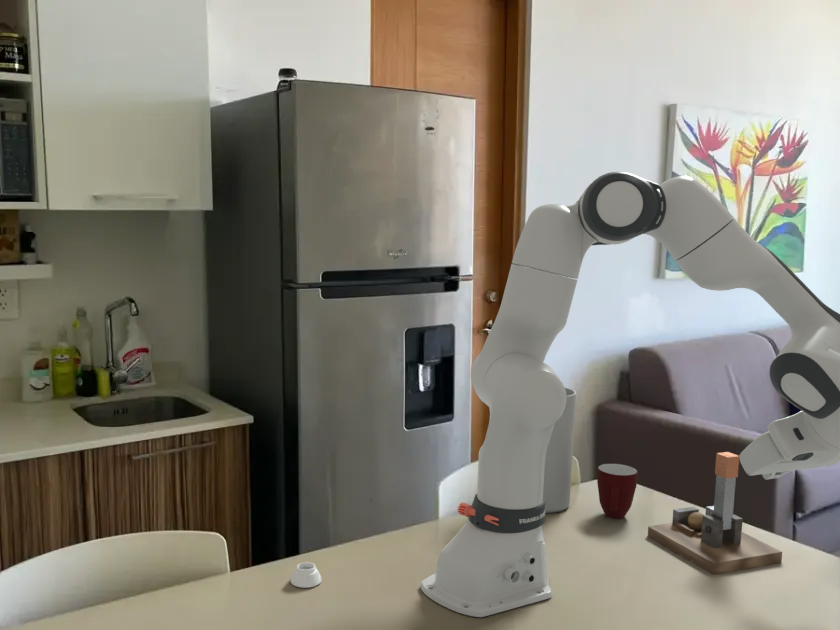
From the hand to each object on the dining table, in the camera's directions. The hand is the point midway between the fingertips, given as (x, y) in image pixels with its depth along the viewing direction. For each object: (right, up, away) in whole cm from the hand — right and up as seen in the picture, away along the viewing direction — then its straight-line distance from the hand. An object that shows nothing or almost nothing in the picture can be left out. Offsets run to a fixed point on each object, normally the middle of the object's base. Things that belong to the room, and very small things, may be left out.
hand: (768, 475), depth 140 cm
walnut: (-7, -14, +17) cm, 23 cm away
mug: (-20, -15, +28) cm, 37 cm away
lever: (-4, -12, +11) cm, 16 cm away
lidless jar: (-80, -17, -7) cm, 82 cm away
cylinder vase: (-35, -13, +34) cm, 51 cm away
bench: (-5, -17, +13) cm, 22 cm away
